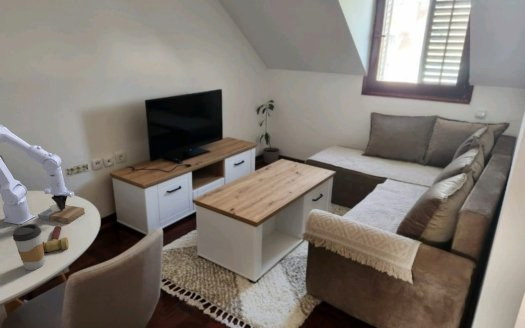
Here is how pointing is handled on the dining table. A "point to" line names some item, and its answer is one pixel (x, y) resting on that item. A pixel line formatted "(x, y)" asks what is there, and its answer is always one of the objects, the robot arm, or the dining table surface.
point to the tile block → (54, 207)
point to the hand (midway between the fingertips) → (62, 209)
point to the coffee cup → (30, 246)
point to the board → (67, 214)
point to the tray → (45, 214)
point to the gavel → (56, 241)
